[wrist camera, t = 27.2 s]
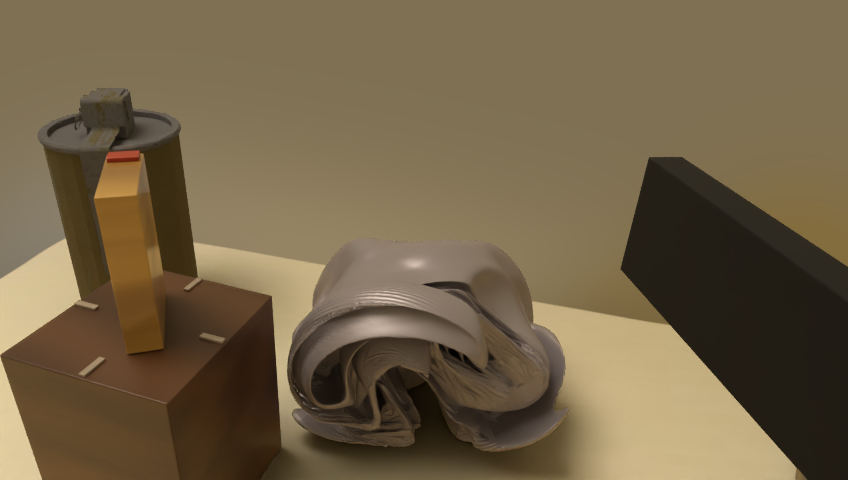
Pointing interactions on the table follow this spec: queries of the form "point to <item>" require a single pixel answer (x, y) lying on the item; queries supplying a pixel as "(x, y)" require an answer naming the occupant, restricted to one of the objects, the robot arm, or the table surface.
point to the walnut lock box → (152, 389)
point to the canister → (81, 169)
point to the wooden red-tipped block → (132, 250)
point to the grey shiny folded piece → (425, 346)
